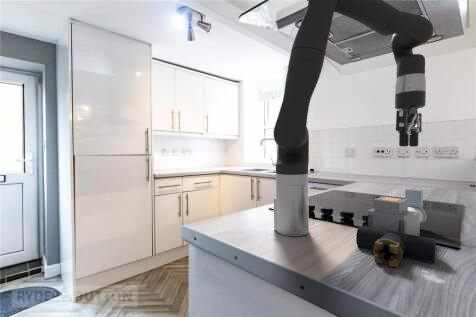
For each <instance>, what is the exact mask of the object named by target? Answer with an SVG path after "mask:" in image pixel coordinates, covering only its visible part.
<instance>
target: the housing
mask: <svg viewBox="0 0 476 317" xmlns="http://www.w3.org/2000/svg"><path fill="white" fill-rule="evenodd" d="M385 197H387V198H393V197H391V196H384V195H383V196H380V197H378V198H374V199H373V207H372V208H371V209H368V210H367V227H369V228H375V229H381V230H387V231H392V232H398V233H404V234H410V235H415V236H420V233H421V232H420V228H421V226H420V225H421V224H420V212H413V211H408V199H405V198H400V197H397V198H396V197H394V198H395V199H401V200H400V201H398V202H394V201H387V200H380V199H382V198H385Z"/></svg>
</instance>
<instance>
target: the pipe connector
mask: <svg viewBox="0 0 476 317" xmlns="http://www.w3.org/2000/svg"><path fill="white" fill-rule="evenodd" d="M355 236H356V237H355V241H356V242H355V243H356V246H358V247H361V248H365V249H370V250H372V252H373V255H374V263H379V264H387V265H388V266H390V267H393V268H398V267H399V264H400V262H401V261H402V259H403V257H405V258H410V259H414V260H419V261H424V262H428V263H431V264H435V261H436V238H433V237H432V238H431V237H427V236H415V235H410V234H404V233H398V232H392V231H387V230H381V229H375V228H369V227H368V226H363V225H359V226H358V227H357V230H356V235H355Z"/></svg>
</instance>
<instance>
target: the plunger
mask: <svg viewBox="0 0 476 317" xmlns="http://www.w3.org/2000/svg"><path fill="white" fill-rule="evenodd" d="M384 197H385V198H382V199H380V200H387V201H394V202H398V201H400V200H401V199H402V198H400V199H395V198H396V197H392V198H387V197H388V196H384Z"/></svg>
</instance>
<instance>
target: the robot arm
mask: <svg viewBox="0 0 476 317" xmlns="http://www.w3.org/2000/svg"><path fill="white" fill-rule="evenodd" d="M306 1H307V8H306V10H305V13H304V16H303V18H302V21H301V23H300V24H299V27H298V30H297V32H296V34H295V37H294V39H293V42H292V47H291V49H290V54H289V55H290V56H289V60H288V65H287V66H288V67H287V72H286V77H285V84H284V92H283V93H284V94H283V98H282V102H281V105H280V109H279V112H278V115H277V118H276V121H275V125H274V128H273V132H272V133H273V139H274V142H275V143H276V144H277V160H276V163H275V187H276V188H275V192H276V193H275V194H276V197H274V198H273V228H274V231H277V233H278V234H281V235H282V236H283V235H284V236H289V237H302V236H306V235H308V234H309V231H310V230H309V227H310V226H309V225H310V224H309V219H310V218H309V215H310V214H309V213H310V212H309V162H310V156H309V155H310V134H309V128H308V127H307V124H308V115H309V108H310V102H311V100H312V97H313V94H314V92H315V90H316V87H317V84H318V81H319V80H320V77H321V73H322V69H323V66H324V61H325V57H326V52H327V47H328V41H329V37H330V33H331V27H332V23H333V18H334V13H337V14H339V15H341V16H344V17H347V18H349V19H352V20H353V21H356V22H358V23H360V24H361V25H364V26H365V27H366V28H369V29H370V30H372V31H374V32H375V33H377V34H379V35H381V36H384V37H386V36H392V37H391V43H390V47H391V51H392V53H393V58H394V61H395V65H396V80H395V86H394V89H395V91H394V93H395V94H394V108H395V110H396V115H395V131H396V132H397V133H398V135H399V137H398V141H399V142H398V146H399V147H411V148H412V147H418V146H419V135H420V133H422V131H423V130H422V122H423V120H422V119H423V118H422V116H423V115H422V113H421V112H418V110H419V109H422V108H424V107H426V102H427V101H426V95H427V94H426V93H427V89H426V88H427V80H426V58H425V56H424V55H423V54H421V53H414V51H413V50H414V48H417V47H418V46H419V47H420V46H421V45H424V44H425V43H427V42H428V41H429V40H431V38H432V37H433V34H434V26H433V23H432V22H431V21H430V20H429V19H428V18H426V17H425V16H422V15H419V14H416V13H411V12H407V11H403V10H399V9H398V8H396V7H395V6H393V5H392V4H390V3H388V2H386V0H306Z"/></svg>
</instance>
